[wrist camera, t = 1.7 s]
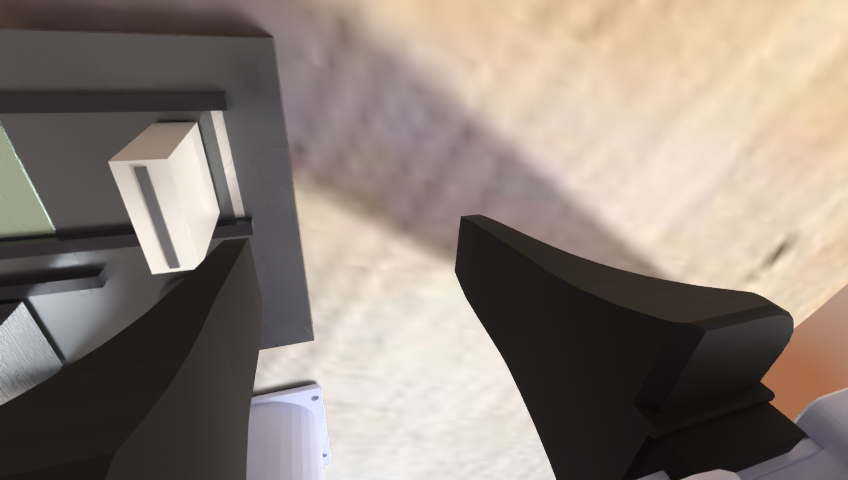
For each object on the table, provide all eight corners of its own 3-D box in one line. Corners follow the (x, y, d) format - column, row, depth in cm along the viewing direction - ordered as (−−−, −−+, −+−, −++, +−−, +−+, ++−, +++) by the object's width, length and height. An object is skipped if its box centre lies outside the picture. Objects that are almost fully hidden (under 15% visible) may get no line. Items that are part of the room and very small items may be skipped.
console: (313, 326, 24) (319, 407, 19) (-13, 381, 19) (-113, 505, 14) (273, 36, 15) (267, 50, 11) (-310, 15, 11) (-772, 21, 6)
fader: (219, 212, 17) (200, 270, 13) (182, 215, 17) (151, 276, 13) (196, 121, 15) (166, 160, 11) (153, 122, 15) (106, 162, 11)
